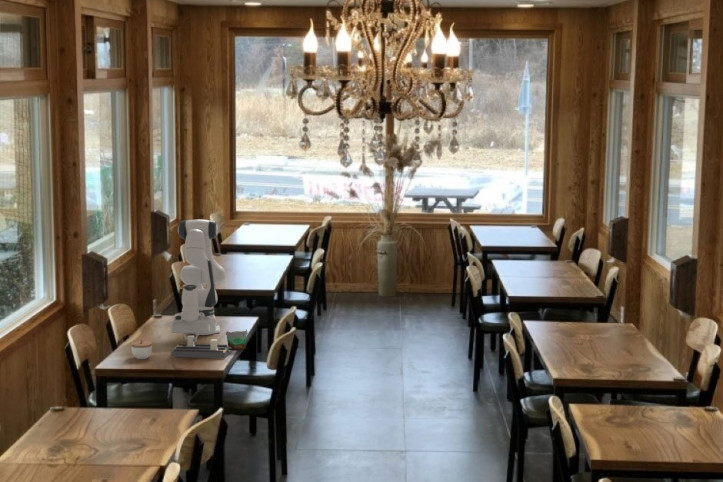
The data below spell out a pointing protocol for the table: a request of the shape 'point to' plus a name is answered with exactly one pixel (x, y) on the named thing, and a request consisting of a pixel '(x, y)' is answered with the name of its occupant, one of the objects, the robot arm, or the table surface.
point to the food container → (236, 340)
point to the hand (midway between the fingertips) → (190, 341)
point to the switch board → (200, 351)
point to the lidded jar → (141, 349)
